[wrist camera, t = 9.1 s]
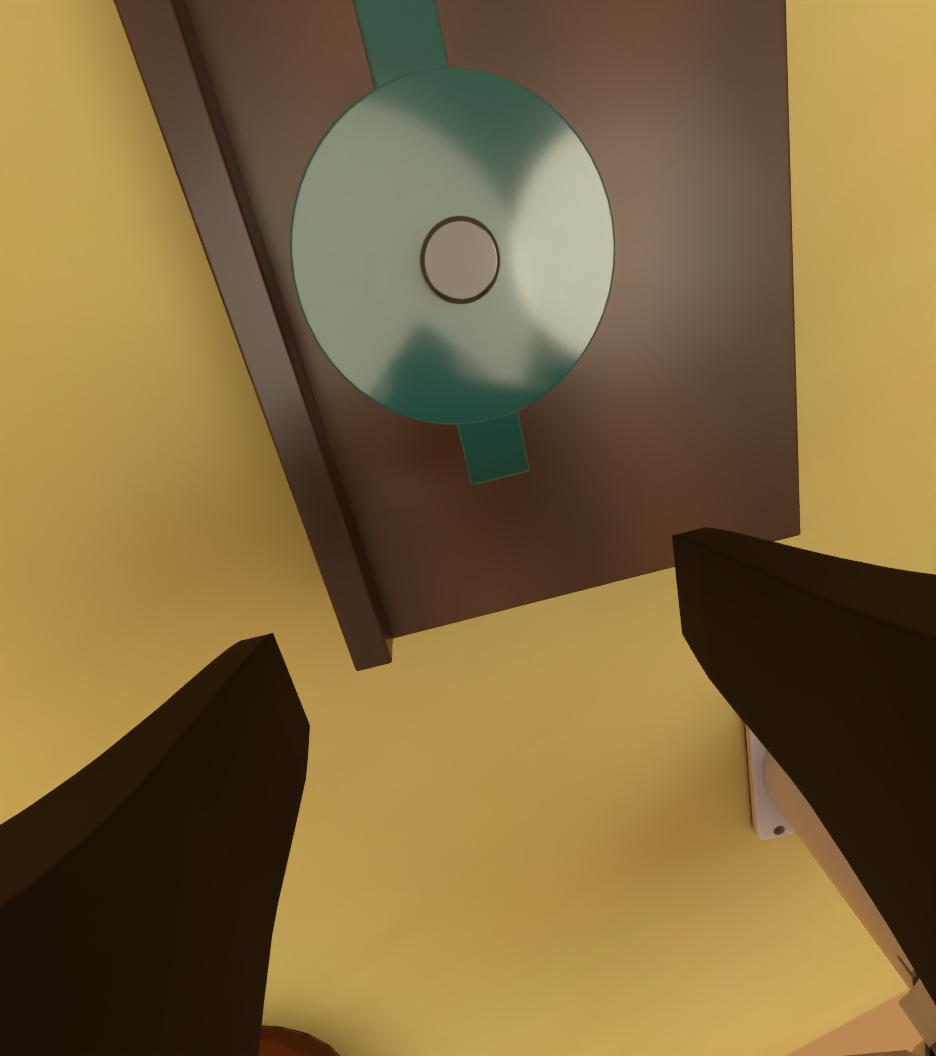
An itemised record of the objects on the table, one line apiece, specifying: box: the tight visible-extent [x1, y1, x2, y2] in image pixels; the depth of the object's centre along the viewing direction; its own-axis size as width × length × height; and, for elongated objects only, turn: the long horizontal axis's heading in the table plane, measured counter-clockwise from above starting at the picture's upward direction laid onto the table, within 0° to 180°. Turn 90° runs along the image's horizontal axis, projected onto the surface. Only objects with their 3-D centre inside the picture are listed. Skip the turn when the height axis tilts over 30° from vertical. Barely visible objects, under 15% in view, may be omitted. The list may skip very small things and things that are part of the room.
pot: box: [290, 0, 615, 485], centre depth 11 cm, size 5×8×5 cm
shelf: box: [114, 0, 800, 671], centre depth 16 cm, size 13×18×6 cm
